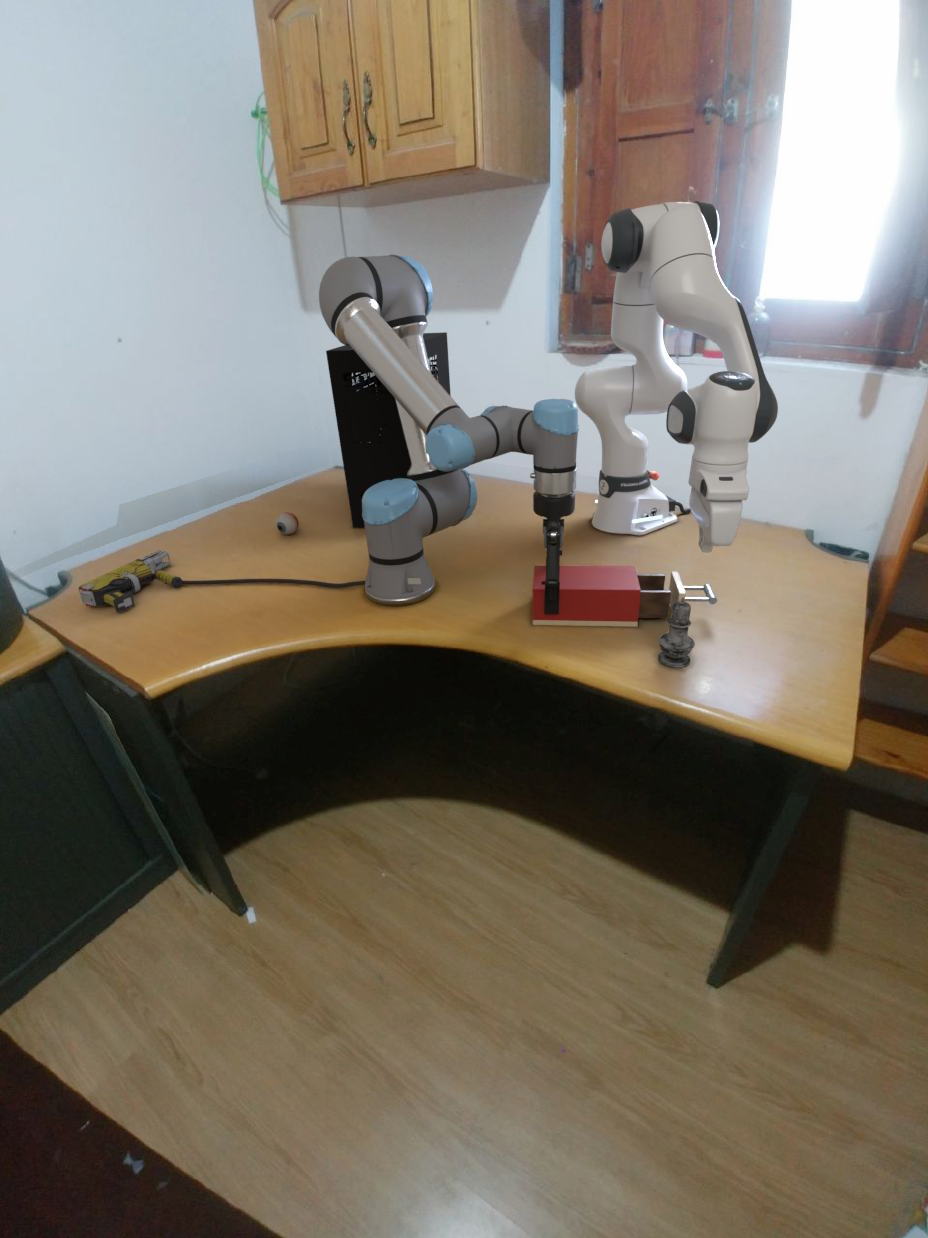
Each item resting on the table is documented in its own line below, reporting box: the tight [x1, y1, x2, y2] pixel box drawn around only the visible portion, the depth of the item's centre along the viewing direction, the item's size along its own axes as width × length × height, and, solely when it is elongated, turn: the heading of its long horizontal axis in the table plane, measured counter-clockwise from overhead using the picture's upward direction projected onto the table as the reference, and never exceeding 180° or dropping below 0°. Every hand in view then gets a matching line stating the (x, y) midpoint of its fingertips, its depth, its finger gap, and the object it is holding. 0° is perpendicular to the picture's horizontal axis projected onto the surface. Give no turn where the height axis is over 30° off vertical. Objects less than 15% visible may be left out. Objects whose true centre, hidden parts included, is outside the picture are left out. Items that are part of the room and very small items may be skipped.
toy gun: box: [78, 549, 183, 614], centre depth 138 cm, size 5×24×15 cm
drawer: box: [637, 571, 718, 619], centre depth 116 cm, size 25×9×6 cm, turn 82°
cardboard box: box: [325, 331, 452, 529], centre depth 169 cm, size 38×20×45 cm, turn 167°
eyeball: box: [275, 511, 300, 536], centre depth 163 cm, size 6×6×6 cm
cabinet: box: [532, 565, 641, 628], centre depth 118 cm, size 20×10×8 cm, turn 82°
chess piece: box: [657, 598, 696, 668], centre depth 101 cm, size 6×6×12 cm
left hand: (551, 599), depth 119 cm, fingers closed on cabinet, 10 cm apart
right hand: (704, 549), depth 110 cm, fingers closed
